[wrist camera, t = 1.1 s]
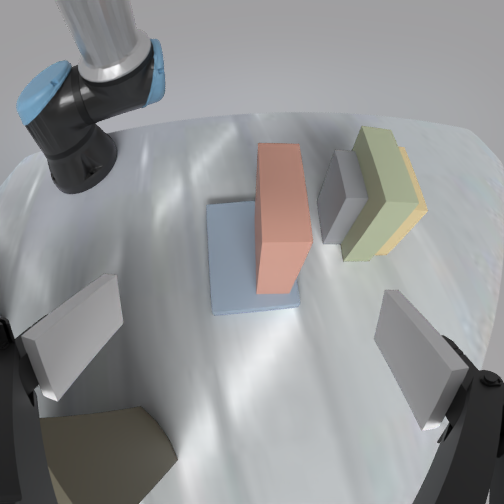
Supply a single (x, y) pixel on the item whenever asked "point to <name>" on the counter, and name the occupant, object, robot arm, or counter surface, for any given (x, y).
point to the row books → (383, 196)
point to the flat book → (238, 262)
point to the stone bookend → (341, 197)
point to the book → (105, 456)
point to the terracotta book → (280, 218)
